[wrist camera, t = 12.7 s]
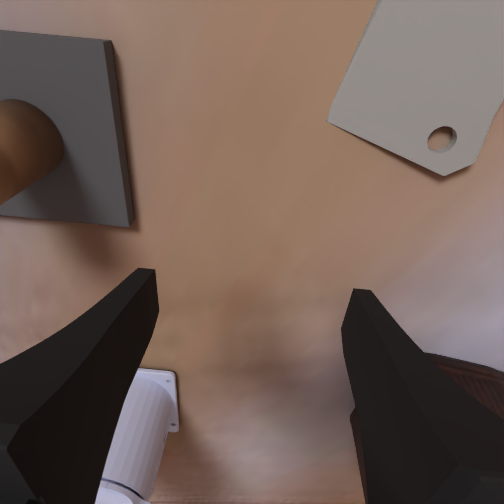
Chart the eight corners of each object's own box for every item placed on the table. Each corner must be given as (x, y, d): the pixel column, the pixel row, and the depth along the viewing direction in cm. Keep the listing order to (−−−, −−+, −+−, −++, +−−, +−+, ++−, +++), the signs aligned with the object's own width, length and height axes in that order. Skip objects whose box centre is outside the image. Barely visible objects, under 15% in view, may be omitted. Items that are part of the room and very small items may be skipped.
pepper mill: (451, 437, 35) (580, 751, 20) (346, 416, 34) (399, 730, 19) (568, 333, 26) (944, 749, 12) (431, 300, 25) (649, 709, 11)
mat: (134, 219, 23) (129, 227, 22) (-19, 204, 23) (-30, 212, 22) (111, 40, 17) (103, 41, 16) (-92, 21, 17) (-111, 22, 16)
